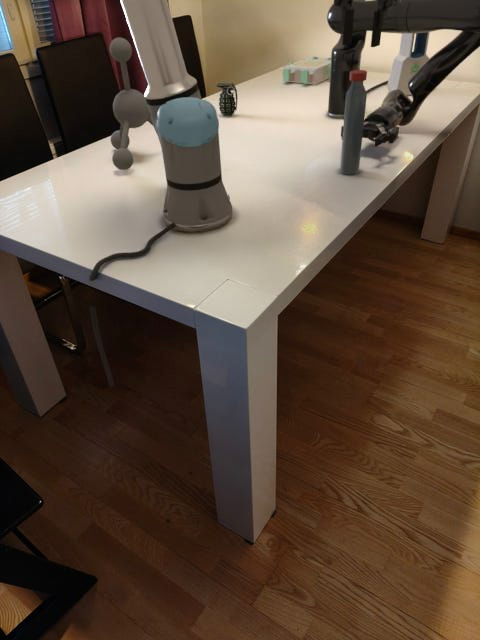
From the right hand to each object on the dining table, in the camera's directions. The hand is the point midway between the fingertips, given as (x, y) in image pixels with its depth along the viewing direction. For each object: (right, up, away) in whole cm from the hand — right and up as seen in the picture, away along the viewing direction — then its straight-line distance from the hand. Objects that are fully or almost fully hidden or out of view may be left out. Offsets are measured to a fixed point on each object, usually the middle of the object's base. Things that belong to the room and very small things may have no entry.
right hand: (359, 140), depth 123 cm
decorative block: (-1, +57, +84) cm, 101 cm away
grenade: (-34, +26, +46) cm, 63 cm away
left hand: (-4, +15, -17) cm, 23 cm away
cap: (-4, +10, -13) cm, 17 cm away
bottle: (-3, -8, +1) cm, 8 cm away
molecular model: (-57, +2, +17) cm, 60 cm away
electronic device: (+32, +39, +58) cm, 77 cm away
